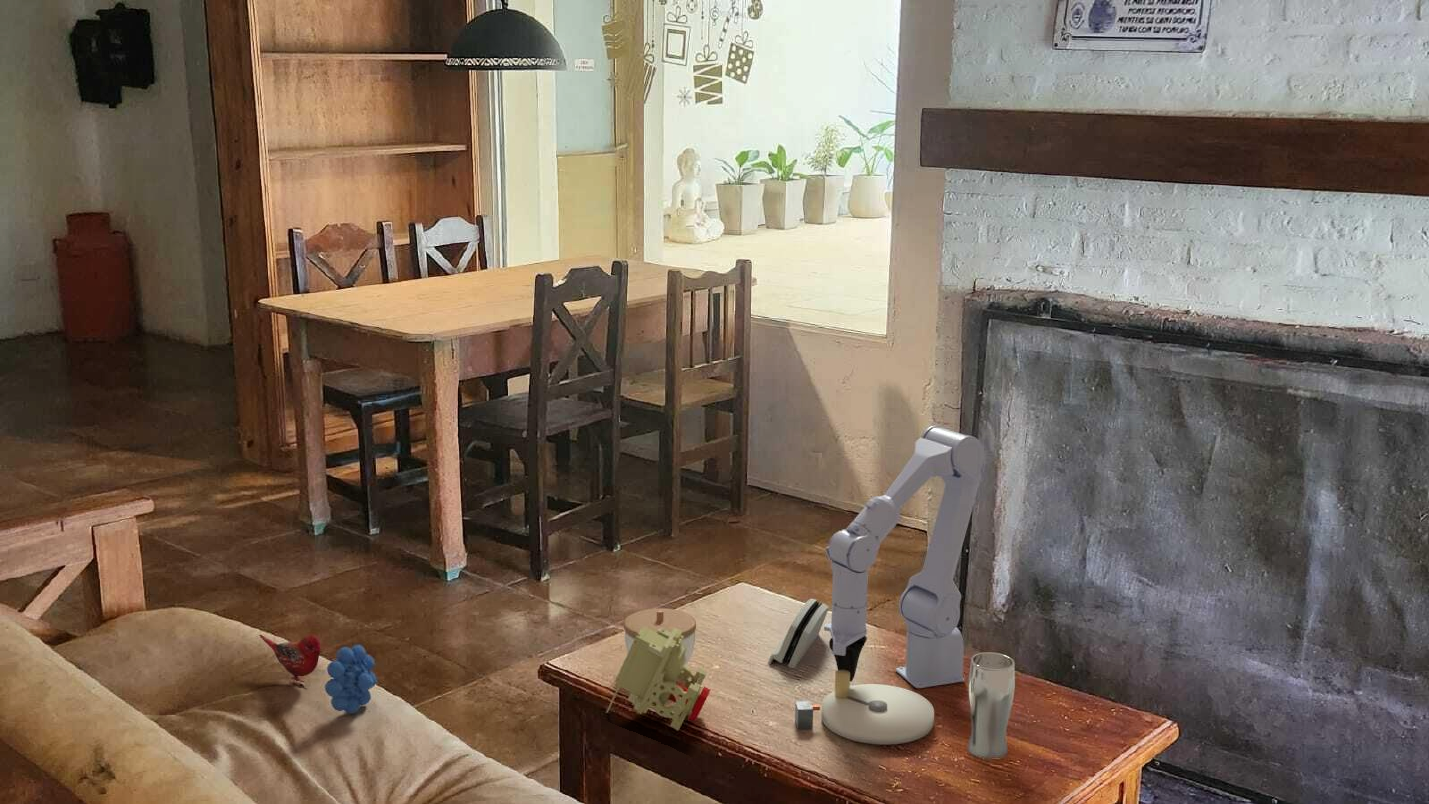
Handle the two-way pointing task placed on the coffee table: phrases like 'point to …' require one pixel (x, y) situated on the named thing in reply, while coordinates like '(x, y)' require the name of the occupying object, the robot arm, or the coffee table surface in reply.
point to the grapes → (350, 679)
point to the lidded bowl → (662, 626)
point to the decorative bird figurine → (297, 655)
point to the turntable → (876, 712)
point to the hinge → (801, 633)
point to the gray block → (804, 714)
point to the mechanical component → (661, 676)
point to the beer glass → (990, 703)
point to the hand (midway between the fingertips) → (846, 679)
